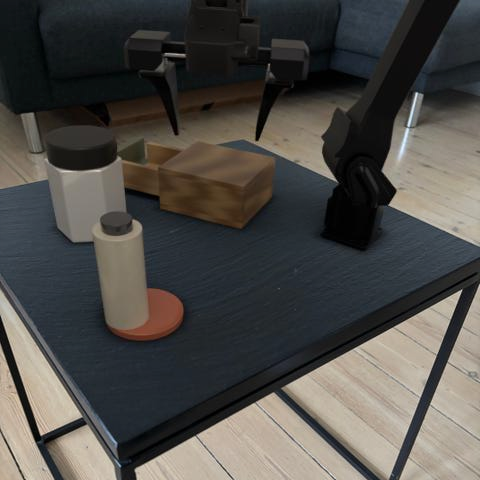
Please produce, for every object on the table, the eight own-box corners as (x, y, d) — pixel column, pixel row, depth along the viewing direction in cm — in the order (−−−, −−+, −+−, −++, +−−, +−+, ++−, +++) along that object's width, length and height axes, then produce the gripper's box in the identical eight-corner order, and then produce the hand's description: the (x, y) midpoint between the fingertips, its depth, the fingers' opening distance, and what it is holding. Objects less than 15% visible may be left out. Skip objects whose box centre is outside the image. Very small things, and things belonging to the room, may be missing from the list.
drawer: (94, 184, 76) (90, 155, 73) (133, 161, 84) (131, 134, 81) (169, 203, 72) (168, 173, 70) (203, 177, 80) (203, 149, 77)
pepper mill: (138, 299, 55) (129, 203, 48) (156, 321, 52) (149, 223, 45) (98, 311, 53) (83, 213, 46) (115, 335, 50) (101, 234, 43)
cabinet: (159, 208, 73) (157, 167, 69) (197, 179, 81) (197, 141, 78) (241, 229, 69) (243, 186, 66) (272, 196, 78) (275, 157, 74)
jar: (138, 232, 67) (130, 141, 60) (79, 251, 63) (63, 155, 56) (105, 207, 73) (94, 119, 65) (49, 222, 68) (31, 131, 61)
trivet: (199, 311, 55) (198, 305, 54) (148, 352, 49) (147, 345, 49) (142, 285, 58) (141, 279, 57) (88, 320, 53) (87, 314, 52)
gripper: (100, -24, 43) (119, 157, 53) (322, -10, 43) (299, 170, 53) (131, -34, 52) (142, 123, 62) (315, -23, 52) (297, 134, 61)
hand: (216, 137), depth 59 cm, fingers open, 9 cm apart
